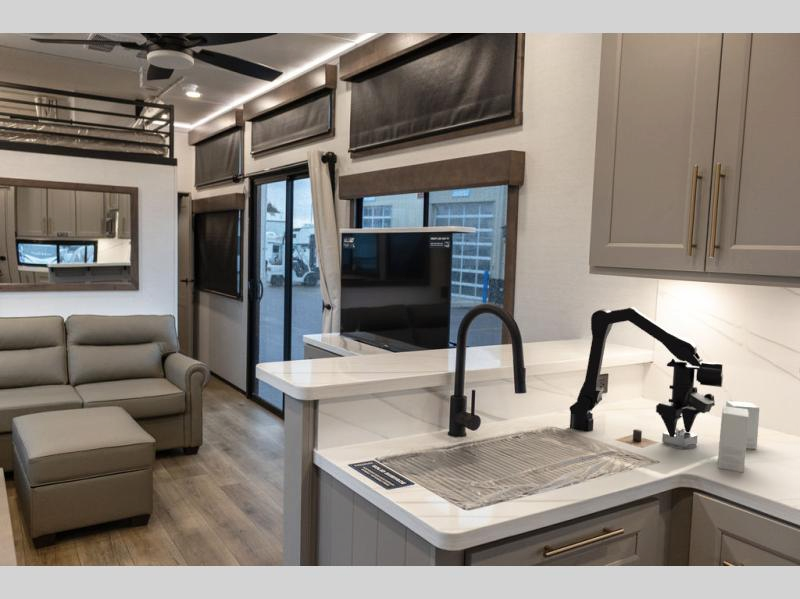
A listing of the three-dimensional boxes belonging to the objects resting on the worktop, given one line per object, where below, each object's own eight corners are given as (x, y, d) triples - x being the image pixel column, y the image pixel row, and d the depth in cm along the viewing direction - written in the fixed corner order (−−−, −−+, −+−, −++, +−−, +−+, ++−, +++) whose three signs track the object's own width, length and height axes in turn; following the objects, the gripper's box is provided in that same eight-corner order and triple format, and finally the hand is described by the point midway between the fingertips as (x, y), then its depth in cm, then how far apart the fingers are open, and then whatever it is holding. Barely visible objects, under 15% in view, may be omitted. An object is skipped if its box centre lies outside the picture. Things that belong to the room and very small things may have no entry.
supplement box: (757, 449, 189) (760, 407, 188) (730, 447, 190) (733, 405, 189) (749, 442, 196) (751, 402, 195) (723, 440, 197) (725, 400, 196)
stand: (614, 442, 191) (615, 429, 191) (631, 438, 197) (632, 424, 197) (642, 450, 184) (642, 436, 184) (658, 445, 190) (659, 431, 189)
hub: (657, 446, 189) (658, 428, 189) (672, 441, 195) (673, 423, 194) (686, 454, 182) (687, 435, 182) (701, 448, 188) (702, 430, 187)
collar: (662, 441, 189) (662, 433, 189) (674, 437, 193) (675, 429, 193) (684, 447, 183) (685, 438, 183) (696, 443, 188) (697, 435, 187)
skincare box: (718, 460, 178) (721, 405, 177) (744, 464, 175) (748, 408, 174) (717, 468, 170) (721, 412, 169) (745, 473, 167) (749, 415, 166)
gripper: (693, 391, 175) (690, 446, 176) (725, 384, 186) (722, 436, 187) (656, 384, 184) (653, 436, 185) (689, 377, 195) (685, 427, 196)
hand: (679, 434), depth 188 cm, fingers open, 9 cm apart
